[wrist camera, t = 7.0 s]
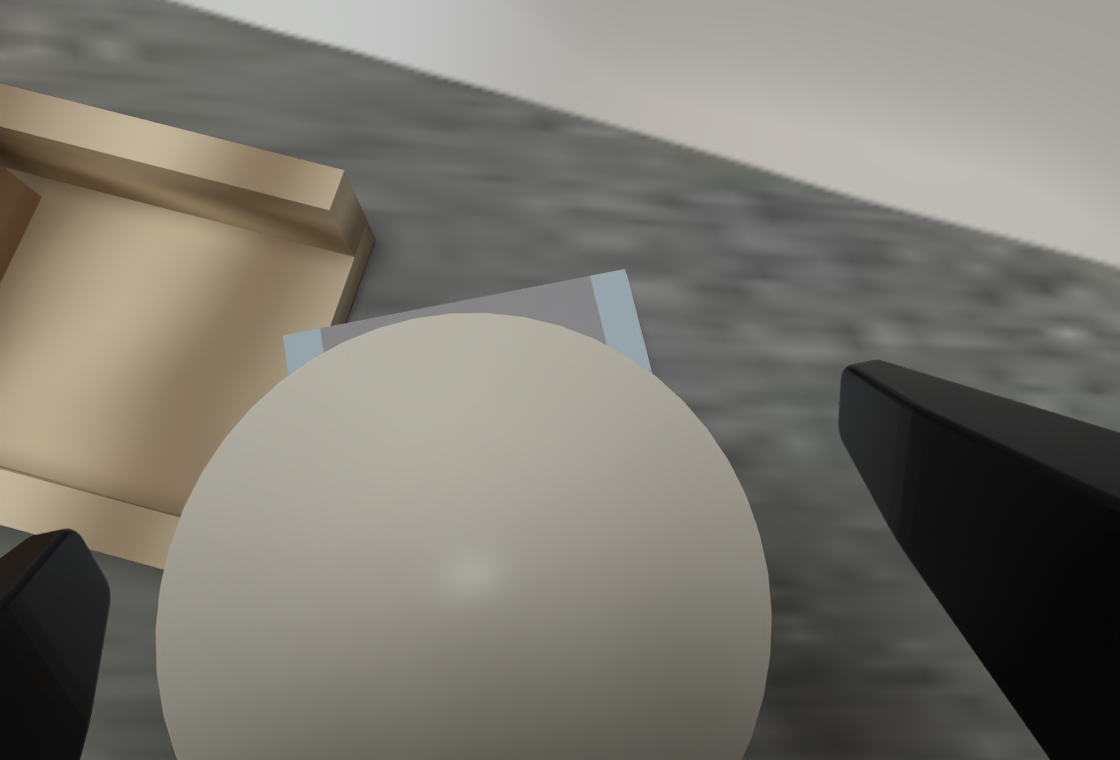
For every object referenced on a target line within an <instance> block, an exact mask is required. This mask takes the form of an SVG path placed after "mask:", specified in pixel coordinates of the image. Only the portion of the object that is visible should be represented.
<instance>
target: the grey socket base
mask: <svg viewBox="0 0 1120 760" xmlns="http://www.w3.org/2000/svg"><path fill="white" fill-rule="evenodd" d="M450 313H493V314H502V315H511V316H520V317H526V318H530V319H535V320H539V321H543V322H547V323H551V324H556V325H560V326H562V327H565V328H567V329H570V330H573V331H575V332H578V333H581V334H583V335H586V336H589V337H591V338H594V339H596V340H598V341H600V342H601V343H603V344H605V345H607V346H609V347H611V348H613V349H615V350H617V351H619V352H620V353H622V354H624V355H626V356H627V357H629V358H630V359H632V360H633V361H635V362H636V363H637V364H639V365H640V366H642V367H643V368H645V369H646V370H647V371H649V372H650V373H652V371H651V367H650V363H649V359H648V355H647V351H646V348H645V344H644V340H643V336H642V332H641V328H640V324H639V320H638V317H637V313H636V309H635V305H634V301H633V297H632V293H631V289H630V285H629V282H628V278H627V275H626V272H625V269H623V270H618V271H613V272H608V273H603V274H598V275H592V276H587V277H582V278H577V279H572V280H567V281H561V282H556V283H551V284H546V285H541V286H536V287H530V288H525V289H520V290H515V291H510V292H505V293H500V294H494V295H489V296H484V297H479V298H474V299H469V300H463V301H458V302H453V303H448V304H443V305H438V306H432V307H427V308H422V309H417V310H412V311H407V312H401V313H396V314H391V315H386V316H381V317H376V318H371V319H365V320H360V321H355V322H350V323H345V324H340V325H334V326H329V327H324V328H319V329H314V330H309V331H303V332H298V333H293V334H288V335H283V340H284V347H285V355H286V362H287V369H288V376H289V375H290V374H292V373H293V372H294V371H296V370H297V369H299V368H300V367H301V366H303V365H304V364H306V363H307V362H308V361H310V360H311V359H313V358H315V357H317V356H319V355H321V354H322V353H324V352H326V351H328V350H330V349H332V348H333V347H335V346H337V345H339V344H341V343H343V342H345V341H347V340H350V339H352V338H355V337H357V336H360V335H362V334H365V333H367V332H370V331H372V330H375V329H377V328H380V327H384V326H388V325H391V324H395V323H399V322H403V321H407V320H410V319H414V318H421V317H428V316H436V315H443V314H450Z"/></svg>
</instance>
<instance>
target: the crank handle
mask: <svg viewBox="0 0 1120 760" xmlns="http://www.w3.org/2000/svg"><path fill="white" fill-rule="evenodd" d="M771 620H772V612H771V600H770V589H769V578H768V571H767V566H766V561H765V557H764V552H763V547H762V543H761V538H760V534H759V531H758V528H757V525H756V522H755V519H754V517H753V514H752V511H751V508H750V505H749V502H748V499H747V497H746V495H745V493H744V491H743V489H742V487H741V485H740V483H739V481H738V479H737V476H736V474H735V472H734V470H733V468H732V466H731V464H730V462H729V461H728V459H727V458H726V456H725V455H724V453H723V452H722V450H721V449H720V447H719V446H718V444H717V443H716V441H715V440H714V438H713V437H712V435H711V434H710V432H709V431H708V429H707V428H706V427H705V426H704V425H703V423H702V422H701V421H700V420H699V419H698V418H697V416H696V415H695V414H694V413H693V412H692V411H691V410H690V408H689V407H688V406H687V405H686V404H685V403H684V401H683V400H681V399H680V398H679V397H678V396H677V395H676V394H675V393H674V392H673V391H671V390H670V389H669V388H668V387H667V386H666V385H665V384H664V383H663V382H662V381H660V380H659V379H658V378H657V377H656V376H655V375H653V374H652V373H650V372H649V371H647V370H646V369H645V368H643V367H642V366H640V365H639V364H637V363H636V362H635V361H633V360H632V359H630V358H629V357H627V356H626V355H624V354H622V353H620V352H619V351H617V350H615V349H613V348H611V347H609V346H607V345H605V344H603V343H601V342H600V341H598V340H596V339H594V338H591V337H589V336H586V335H583V334H581V333H578V332H575V331H573V330H570V329H567V328H565V327H562V326H560V325H556V324H551V323H547V322H543V321H539V320H535V319H530V318H526V317H520V316H511V315H502V314H493V313H450V314H443V315H436V316H428V317H421V318H414V319H410V320H407V321H403V322H399V323H395V324H391V325H388V326H384V327H380V328H377V329H375V330H372V331H370V332H367V333H365V334H362V335H360V336H357V337H355V338H352V339H350V340H347V341H345V342H343V343H341V344H339V345H337V346H335V347H333V348H332V349H330V350H328V351H326V352H324V353H322V354H321V355H319V356H317V357H315V358H313V359H311V360H310V361H308V362H307V363H306V364H304V365H303V366H301V367H300V368H299V369H297V370H296V371H294V372H293V373H292V374H290V375H289V376H287V377H286V378H285V379H283V380H282V381H280V382H279V383H278V384H277V385H276V386H275V387H274V388H273V389H271V390H270V391H269V392H268V393H267V394H266V395H265V396H264V397H263V398H262V399H260V400H259V401H258V402H257V403H256V404H255V405H254V406H253V407H252V408H251V409H250V410H249V411H248V412H247V413H246V414H245V416H244V417H243V418H242V419H241V420H240V421H239V423H238V424H237V425H236V426H235V427H234V428H233V429H232V431H231V432H230V433H229V434H228V435H227V436H226V438H225V439H224V440H223V442H222V443H221V445H220V446H219V448H218V449H217V451H216V452H215V454H214V455H213V457H212V458H211V460H210V461H209V463H208V464H207V466H206V467H205V468H204V470H203V471H202V473H201V475H200V477H199V479H198V481H197V483H196V485H195V487H194V489H193V491H192V493H191V495H190V497H189V499H188V501H187V503H186V505H185V507H184V509H183V511H182V514H181V517H180V520H179V522H178V525H177V528H176V531H175V533H174V536H173V539H172V541H171V544H170V547H169V551H168V555H167V560H166V564H165V568H164V573H163V577H162V581H161V586H160V592H159V602H158V612H157V622H156V663H157V678H158V684H159V691H160V697H161V703H162V710H163V716H164V719H165V723H166V726H167V729H168V733H169V736H170V739H171V743H172V746H173V749H174V753H175V756H176V759H177V760H742V759H743V756H744V754H745V752H746V749H747V747H748V745H749V743H750V740H751V738H752V734H753V731H754V728H755V724H756V721H757V718H758V714H759V711H760V707H761V704H762V701H763V697H764V691H765V685H766V679H767V672H768V666H769V660H770V648H771Z"/></svg>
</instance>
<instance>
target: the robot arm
mask: <svg viewBox="0 0 1120 760" xmlns="http://www.w3.org/2000/svg"><path fill="white" fill-rule="evenodd" d="M838 426H839V432H840V436H841V439H842V442H843V444H844V446H845V447H846V449H847V451H848V453H849V455H850V457H851V459H852V460H853V462H854V464H855V466H856V468H857V470H858V471H859V473H860V475H861V477H862V479H863V481H864V482H865V484H866V486H867V488H868V490H869V492H870V494H871V495H872V497H873V499H874V501H875V503H876V505H877V506H878V508H879V510H880V512H881V514H882V516H883V517H884V519H885V521H886V523H887V525H888V527H889V528H890V530H891V532H892V533H893V535H894V537H895V539H896V540H897V542H898V543H899V545H900V546H901V548H902V549H903V551H904V552H905V554H906V555H907V557H908V558H909V560H910V561H911V562H912V564H913V565H914V567H915V568H916V570H917V571H918V572H919V574H920V575H921V577H922V578H923V580H924V581H925V582H926V584H927V585H928V587H929V588H930V590H931V591H932V592H933V594H934V595H935V597H936V598H937V599H938V601H939V602H940V604H941V605H942V607H943V608H944V609H945V611H946V612H947V614H948V615H949V617H950V618H951V619H952V621H953V622H954V624H955V625H956V627H957V628H958V629H959V631H960V632H961V634H962V635H963V636H964V638H965V639H966V641H967V642H968V644H969V645H970V646H971V648H972V649H973V651H974V652H975V654H976V655H977V656H978V658H979V659H980V661H981V662H982V663H983V665H984V666H985V668H986V669H987V671H988V672H989V673H990V675H991V676H992V678H993V679H994V681H995V682H996V683H997V685H998V686H999V688H1000V689H1001V691H1002V692H1003V693H1004V695H1005V696H1006V698H1007V699H1008V700H1009V702H1010V703H1011V705H1012V706H1013V708H1014V709H1015V710H1016V712H1017V713H1018V715H1019V716H1020V718H1021V719H1022V720H1023V722H1024V723H1025V725H1026V726H1027V728H1028V729H1029V730H1030V732H1031V733H1032V735H1033V736H1034V737H1035V739H1036V740H1037V742H1038V743H1039V745H1040V746H1041V747H1042V749H1043V750H1044V752H1045V753H1046V755H1047V756H1048V757H1049V759H1050V760H1120V432H1117V431H1113V430H1110V429H1107V428H1103V427H1100V426H1097V425H1093V424H1090V423H1087V422H1084V421H1080V420H1077V419H1074V418H1070V417H1067V416H1064V415H1060V414H1057V413H1054V412H1050V411H1047V410H1044V409H1041V408H1037V407H1034V406H1031V405H1027V404H1024V403H1021V402H1017V401H1014V400H1011V399H1007V398H1004V397H1001V396H998V395H994V394H991V393H988V392H984V391H981V390H978V389H974V388H971V387H968V386H964V385H961V384H958V383H954V382H951V381H948V380H945V379H941V378H938V377H935V376H931V375H928V374H925V373H921V372H918V371H915V370H911V369H908V368H905V367H902V366H898V365H895V364H892V363H888V362H885V361H882V360H872V361H867V362H862V363H857V364H853V365H849V366H847V367H846V368H845V369H844V370H843V373H842V376H841V385H840V401H839V418H838ZM109 606H110V589H109V585H108V582H107V580H106V577H105V576H104V574H103V572H102V571H101V569H100V567H99V565H98V564H97V562H96V560H95V558H94V557H93V555H92V553H91V552H90V550H89V548H88V546H87V545H86V543H85V541H84V540H83V538H82V537H81V535H80V534H79V533H78V532H76V531H75V530H72V529H69V528H65V529H60V530H55V531H50V532H45V533H41V534H36V535H33V536H31V537H29V538H27V539H26V540H25V541H23V542H22V543H20V544H19V545H18V546H16V547H15V548H14V549H12V550H11V551H10V552H8V553H7V554H5V555H4V556H3V557H1V558H0V760H80V758H81V754H82V751H83V747H84V743H85V739H86V735H87V731H88V728H89V723H90V718H91V713H92V708H93V703H94V697H95V691H96V685H97V679H98V673H99V667H100V661H101V655H102V649H103V643H104V637H105V631H106V624H107V618H108V612H109Z"/></svg>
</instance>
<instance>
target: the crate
mask: <svg viewBox="0 0 1120 760" xmlns="http://www.w3.org/2000/svg"><path fill="white" fill-rule="evenodd" d="M40 200H41V196H39V195H38V194H37V193H36V192H34V191H33V190H32V189H31V188H29V187H28V186H27V185H26V184H24V183H23V182H22V181H21V180H19V179H18V178H17V177H16V176H14V175H13V174H12V173H11V172H9V171H8V170H7V169H6V168H4V167H3V166H2V165H1V164H0V283H1V281H2V279H3V277H4V274H5V272H6V270H7V268H8V266H9V264H10V262H11V260H12V258H13V256H14V254H15V252H16V249H17V247H18V245H19V243H20V241H21V239H22V237H23V235H24V233H25V231H26V229H27V227H28V224H29V222H30V220H31V218H32V216H33V214H34V212H35V210H36V208H37V206H38V204H39V202H40Z"/></svg>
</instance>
